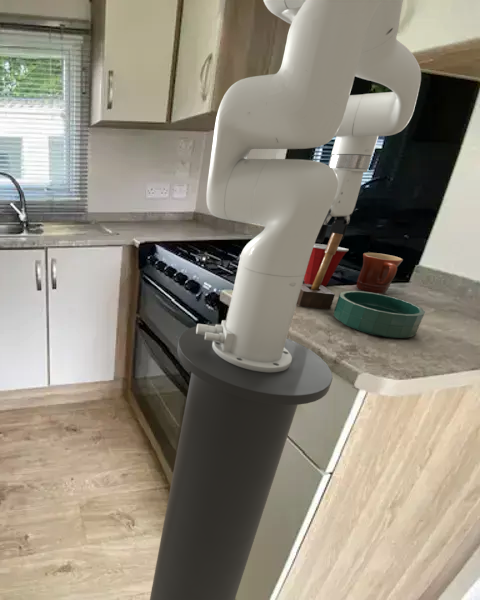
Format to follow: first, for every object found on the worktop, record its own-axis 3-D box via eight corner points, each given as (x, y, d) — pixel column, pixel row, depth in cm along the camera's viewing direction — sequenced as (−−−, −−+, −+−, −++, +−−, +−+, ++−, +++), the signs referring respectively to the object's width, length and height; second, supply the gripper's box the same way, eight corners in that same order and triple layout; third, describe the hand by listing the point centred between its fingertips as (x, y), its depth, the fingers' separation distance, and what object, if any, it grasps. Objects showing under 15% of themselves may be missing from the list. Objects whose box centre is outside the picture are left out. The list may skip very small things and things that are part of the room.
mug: (347, 284, 108) (358, 251, 104) (380, 288, 106) (393, 254, 102) (364, 297, 97) (377, 261, 93) (401, 301, 95) (416, 265, 91)
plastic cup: (338, 284, 107) (351, 245, 103) (333, 292, 100) (347, 251, 95) (298, 276, 114) (309, 239, 109) (290, 283, 106) (301, 244, 102)
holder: (299, 306, 88) (303, 291, 87) (290, 296, 95) (294, 282, 93) (330, 309, 87) (335, 294, 86) (318, 299, 93) (323, 285, 92)
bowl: (350, 334, 74) (359, 310, 72) (322, 309, 87) (329, 288, 85) (432, 344, 71) (443, 319, 69) (389, 316, 84) (398, 295, 82)
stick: (306, 302, 90) (335, 233, 84) (302, 300, 92) (330, 232, 87) (315, 304, 90) (344, 235, 84) (311, 302, 92) (340, 234, 86)
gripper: (347, 166, 87) (326, 236, 93) (311, 161, 78) (290, 239, 84) (383, 167, 81) (359, 241, 87) (349, 162, 72) (324, 245, 78)
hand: (325, 240), depth 85 cm, fingers open, 9 cm apart
